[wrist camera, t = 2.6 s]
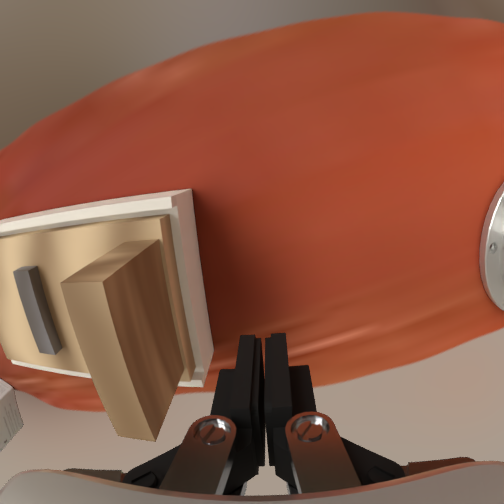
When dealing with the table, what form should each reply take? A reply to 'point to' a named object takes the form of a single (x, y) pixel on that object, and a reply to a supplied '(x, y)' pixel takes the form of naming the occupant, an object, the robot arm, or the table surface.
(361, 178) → the table surface
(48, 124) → the table surface
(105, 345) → the lid
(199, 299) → the box
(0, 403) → the skincare box
